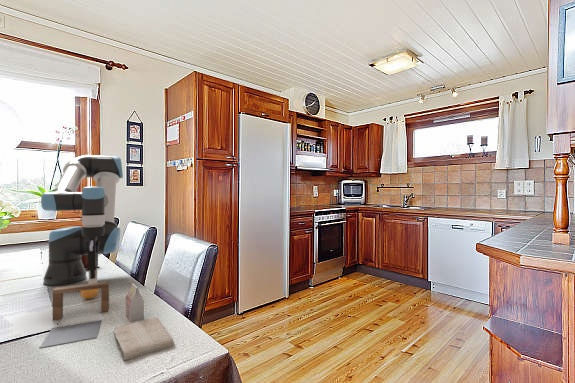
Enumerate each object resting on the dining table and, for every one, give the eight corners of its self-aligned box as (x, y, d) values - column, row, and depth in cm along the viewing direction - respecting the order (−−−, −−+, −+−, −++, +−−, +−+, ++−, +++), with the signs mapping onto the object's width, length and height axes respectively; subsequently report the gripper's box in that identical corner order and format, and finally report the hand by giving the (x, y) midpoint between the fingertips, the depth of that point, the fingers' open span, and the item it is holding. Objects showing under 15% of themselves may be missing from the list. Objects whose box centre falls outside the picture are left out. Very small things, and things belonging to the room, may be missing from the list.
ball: (81, 297, 110) (82, 282, 110) (99, 295, 113) (99, 280, 113) (79, 302, 105) (79, 286, 105) (97, 299, 108) (97, 284, 108)
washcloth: (156, 323, 90) (156, 313, 90) (176, 348, 76) (176, 335, 76) (110, 335, 82) (110, 324, 82) (123, 364, 68) (123, 351, 68)
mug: (85, 265, 160) (85, 246, 160) (99, 266, 158) (99, 246, 158) (64, 270, 148) (64, 250, 148) (78, 271, 146) (79, 250, 146)
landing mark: (52, 328, 85) (52, 328, 85) (101, 320, 90) (101, 320, 90) (39, 348, 74) (39, 347, 74) (96, 337, 80) (96, 337, 80)
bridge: (55, 317, 93) (55, 287, 93) (109, 309, 99) (109, 281, 99) (52, 320, 90) (52, 290, 90) (108, 312, 97) (108, 283, 97)
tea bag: (138, 313, 96) (138, 281, 96) (143, 319, 91) (144, 287, 91) (125, 315, 94) (126, 284, 94) (130, 323, 89) (130, 289, 89)
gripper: (84, 225, 122) (84, 283, 121) (78, 228, 110) (78, 292, 110) (106, 224, 125) (105, 280, 125) (102, 227, 113) (102, 289, 113)
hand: (93, 286), depth 117 cm, fingers closed
